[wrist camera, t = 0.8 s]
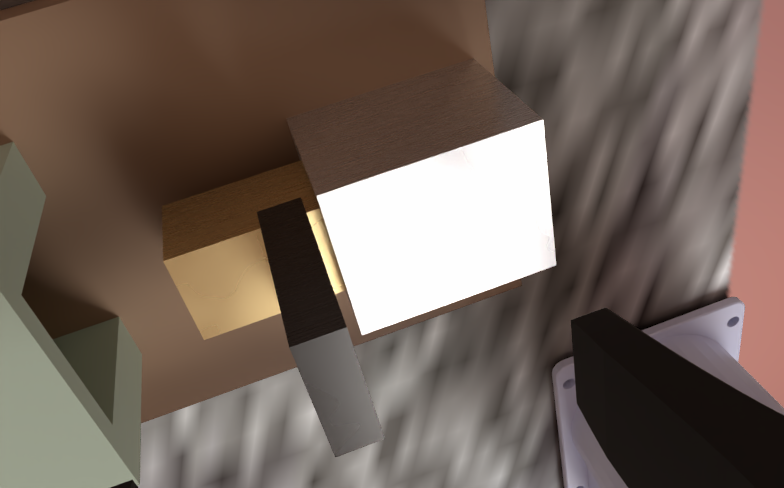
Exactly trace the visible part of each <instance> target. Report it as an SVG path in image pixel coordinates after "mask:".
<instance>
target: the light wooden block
mask: <svg viewBox="0 0 784 488" xmlns="http://www.w3.org/2000/svg"><path fill="white" fill-rule="evenodd" d="M162 235H163V262H164V264H165V266H166V268H167V270H168V272H169V274H170V275H171V277H172V279H173V281H174V283H175V285H176V287H177V289H178V291H179V293H180V295H181V297H182V299H183V300H184V302H185V304H186V306H187V308H188V310H189V312H190V314H191V316H192V318H193V320H194V322H195V324H196V325H197V327H198V329H199V331H200V333H201V335H202V337H203V339H204V340H206V339H209V338H212V337H215V336H217V335H220V334H223V333H226V332H229V331H232V330H234V329H237V328H240V327H243V326H246V325H249V324H251V323H254V322H257V321H260V320H263V319H266V318H269V317H271V316H274V315H277V314H280V313H281V315H282V320H283V324H284V328H285V332H286V336H287V340H288V345H289V348H290V351H291V353H292V355H293V358H294V360H295V362H296V365H297V367H298V370H299V372H300V374H301V377H302V379H303V381H304V384H305V386H306V389H307V391H308V393H309V396H310V398H311V400H312V403H313V405H314V408H315V410H316V412H317V415H318V417H319V419H320V422H321V424H322V426H323V429H324V431H325V434H326V436H327V438H328V441H329V443H330V445H331V448H332V450H333V453H334V455H335V457H338V456H340V455H343V454H346V453H348V452H351V451H354V450H356V449H359V448H362V447H364V446H367V445H370V444H372V443H375V442H378V441H380V440H383V439H385V437H384V434H383V431H382V428H381V425H380V422H379V419H378V417H377V414H376V411H375V408H374V405H373V402H372V399H371V396H370V393H369V390H368V387H367V385H366V382H365V379H364V376H363V373H362V370H361V367H360V364H359V361H358V358H357V355H356V353H355V350H354V347H353V344H352V341H351V338H350V335H349V332H348V329H347V326H346V324H345V321H344V318H343V315H342V312H341V309H340V307H339V304H338V301H337V298H336V295H335V294H337V293H340V292H342V291H345V290H347V289H346V286H345V283H344V280H343V277H342V274H341V271H340V268H339V265H338V262H337V259H336V256H335V253H334V250H333V247H332V244H331V241H330V237H329V234H328V231H327V228H326V225H325V222H324V219H323V216H322V213H321V210H320V207H319V204H318V201H317V199H316V196H315V194H314V191H313V188H312V186H311V183H310V181H309V178H308V176H307V173H306V170H305V168H304V165H303V163H302V160H300V161H297V162H294V163H291V164H288V165H285V166H282V167H279V168H276V169H273V170H269V171H266V172H263V173H260V174H257V175H254V176H251V177H248V178H245V179H242V180H239V181H236V182H233V183H230V184H227V185H224V186H221V187H218V188H215V189H212V190H209V191H206V192H203V193H200V194H197V195H194V196H191V197H188V198H185V199H182V200H178V201H175V202H172V203H169V204H166V205H163V206H162Z"/></svg>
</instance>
